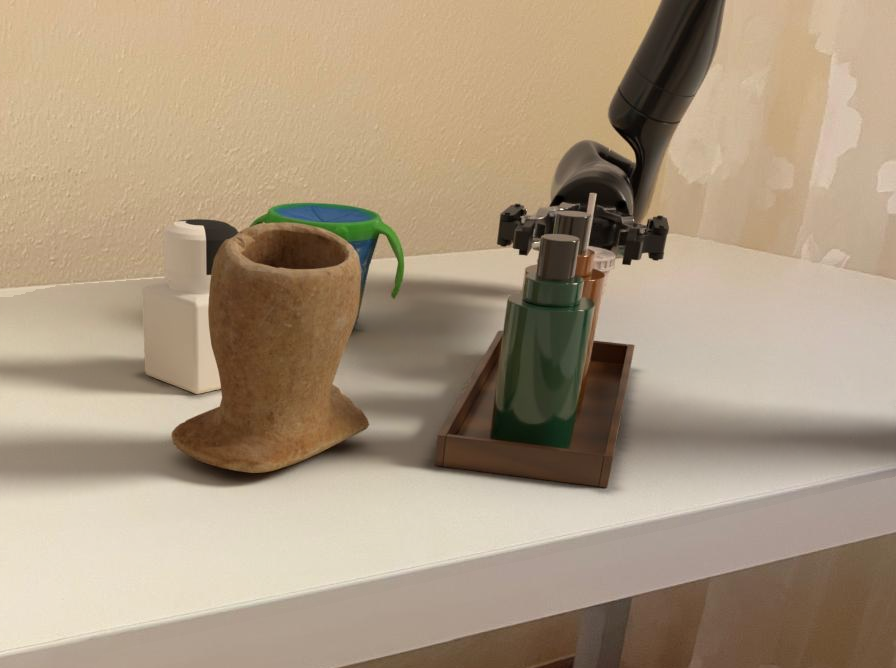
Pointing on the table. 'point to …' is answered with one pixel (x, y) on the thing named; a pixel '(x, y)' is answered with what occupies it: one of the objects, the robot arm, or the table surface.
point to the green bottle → (543, 350)
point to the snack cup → (343, 231)
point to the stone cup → (277, 349)
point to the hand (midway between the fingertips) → (576, 246)
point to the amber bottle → (581, 273)
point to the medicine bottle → (184, 307)
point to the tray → (582, 464)
